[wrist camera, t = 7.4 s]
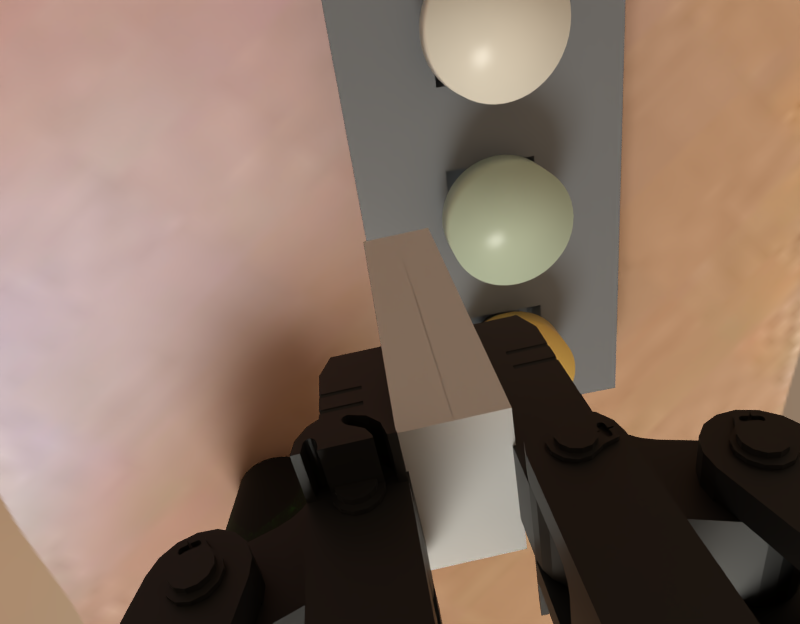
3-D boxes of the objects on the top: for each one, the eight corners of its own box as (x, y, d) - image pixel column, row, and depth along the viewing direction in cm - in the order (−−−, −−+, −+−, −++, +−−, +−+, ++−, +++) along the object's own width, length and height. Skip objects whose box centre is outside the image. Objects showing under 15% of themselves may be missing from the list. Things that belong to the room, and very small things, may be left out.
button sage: (426, 154, 26) (442, 176, 22) (537, 134, 26) (572, 153, 23) (439, 259, 29) (456, 295, 25) (541, 240, 29) (574, 273, 25)
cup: (250, 548, 38) (219, 751, 28) (201, 464, 35) (144, 659, 24) (360, 515, 38) (373, 707, 27) (322, 428, 35) (320, 608, 24)
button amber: (444, 300, 30) (462, 340, 26) (543, 281, 30) (574, 319, 26) (455, 382, 32) (472, 431, 28) (546, 365, 32) (575, 411, 28)
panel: (310, -58, 24) (308, -68, 21) (595, -105, 24) (628, -120, 21) (395, 397, 34) (401, 428, 31) (592, 359, 35) (614, 387, 32)
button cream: (402, -36, 23) (416, -48, 19) (530, -57, 23) (570, -73, 19) (419, 101, 25) (436, 115, 21) (535, 81, 25) (572, 91, 22)
